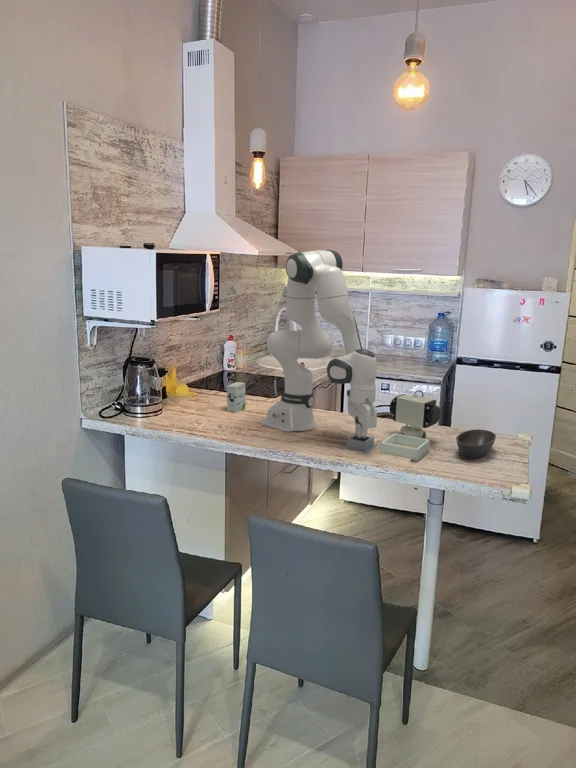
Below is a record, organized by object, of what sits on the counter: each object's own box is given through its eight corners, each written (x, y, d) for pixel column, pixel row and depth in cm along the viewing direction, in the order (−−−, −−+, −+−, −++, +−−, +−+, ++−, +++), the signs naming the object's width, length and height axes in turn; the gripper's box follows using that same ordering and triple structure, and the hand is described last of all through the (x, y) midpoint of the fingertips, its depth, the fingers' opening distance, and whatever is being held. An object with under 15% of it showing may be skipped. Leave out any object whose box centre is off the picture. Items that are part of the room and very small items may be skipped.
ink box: (236, 406, 263) (236, 381, 260) (246, 408, 261) (246, 382, 258) (226, 411, 255) (226, 385, 253) (236, 412, 253) (236, 386, 251)
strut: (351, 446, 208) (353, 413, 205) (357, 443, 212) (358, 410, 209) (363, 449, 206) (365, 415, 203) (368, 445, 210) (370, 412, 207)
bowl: (500, 449, 213) (502, 433, 211) (482, 466, 195) (483, 448, 194) (468, 442, 219) (469, 427, 218) (447, 458, 202) (448, 441, 200)
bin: (380, 455, 204) (381, 442, 203) (393, 444, 215) (394, 433, 214) (416, 462, 197) (417, 449, 196) (428, 451, 208) (429, 439, 207)
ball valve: (440, 441, 220) (443, 396, 216) (429, 446, 214) (432, 400, 210) (398, 431, 231) (401, 388, 227) (387, 435, 225) (390, 391, 221)
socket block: (341, 450, 207) (342, 439, 206) (353, 443, 216) (353, 432, 215) (367, 455, 202) (368, 444, 202) (378, 448, 211) (379, 437, 210)
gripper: (382, 402, 196) (380, 441, 199) (361, 388, 215) (359, 424, 218) (364, 403, 194) (362, 442, 197) (345, 389, 213) (343, 425, 217)
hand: (360, 433), depth 208 cm, fingers closed on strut, 4 cm apart
